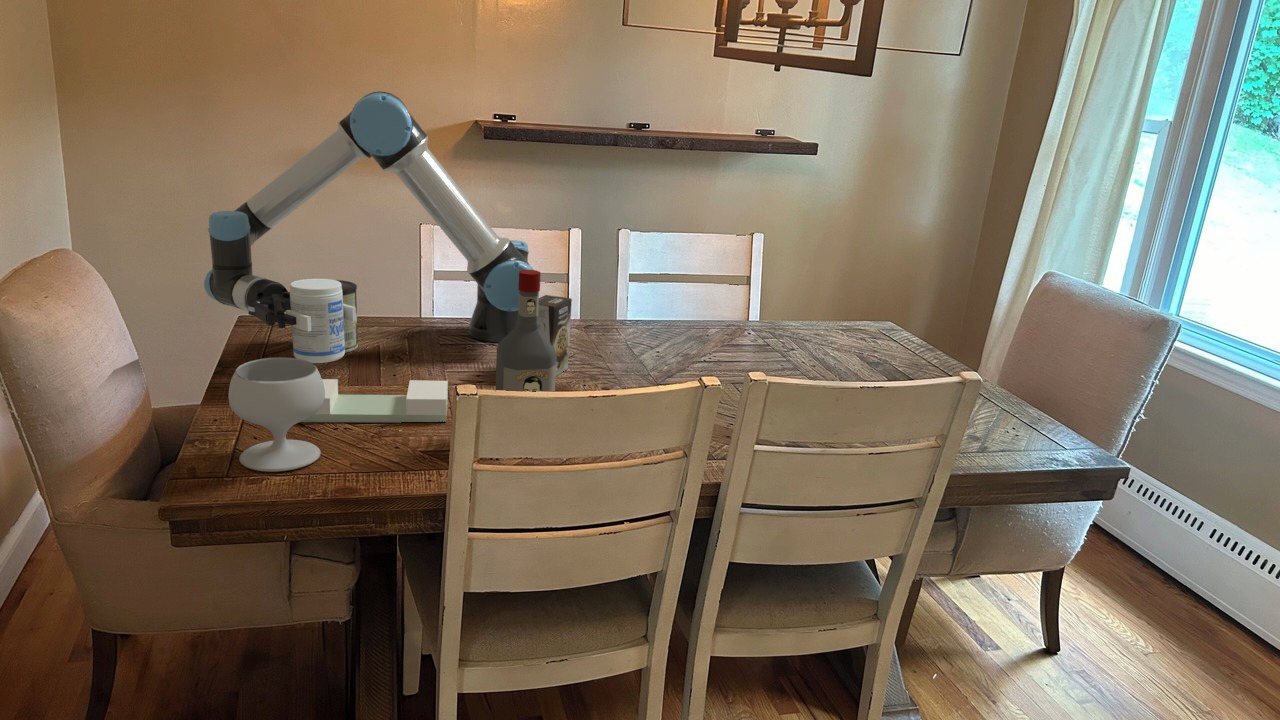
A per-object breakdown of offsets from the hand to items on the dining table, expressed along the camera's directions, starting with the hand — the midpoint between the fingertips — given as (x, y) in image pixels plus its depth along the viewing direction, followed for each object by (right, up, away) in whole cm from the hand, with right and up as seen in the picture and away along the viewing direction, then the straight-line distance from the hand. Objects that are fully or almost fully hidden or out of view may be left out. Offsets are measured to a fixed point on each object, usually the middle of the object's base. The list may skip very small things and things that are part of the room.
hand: (332, 319), depth 169 cm
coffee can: (-10, -5, +29) cm, 31 cm away
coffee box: (+38, -11, +24) cm, 46 cm away
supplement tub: (-4, -7, +5) cm, 10 cm away
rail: (+9, -17, -5) cm, 20 cm away
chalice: (+1, -24, -26) cm, 35 cm away
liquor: (+38, -22, -11) cm, 45 cm away
